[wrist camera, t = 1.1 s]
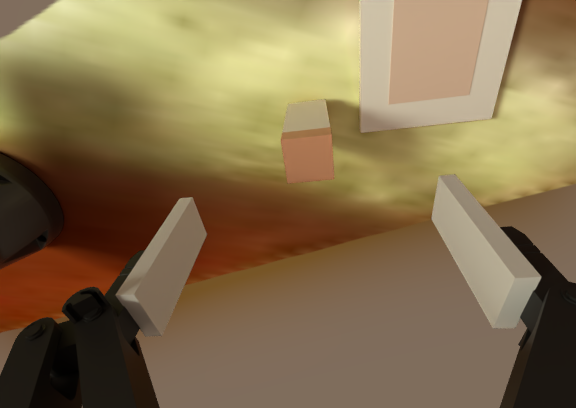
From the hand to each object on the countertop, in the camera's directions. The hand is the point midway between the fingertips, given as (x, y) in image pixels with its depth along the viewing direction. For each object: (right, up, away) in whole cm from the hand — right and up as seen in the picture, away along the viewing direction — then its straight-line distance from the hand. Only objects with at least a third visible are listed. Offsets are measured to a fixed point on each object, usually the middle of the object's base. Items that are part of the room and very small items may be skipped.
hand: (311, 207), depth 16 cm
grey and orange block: (+1, +9, +13) cm, 16 cm away
